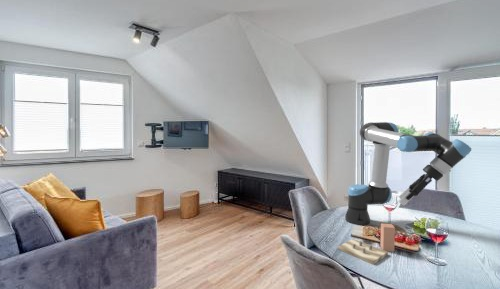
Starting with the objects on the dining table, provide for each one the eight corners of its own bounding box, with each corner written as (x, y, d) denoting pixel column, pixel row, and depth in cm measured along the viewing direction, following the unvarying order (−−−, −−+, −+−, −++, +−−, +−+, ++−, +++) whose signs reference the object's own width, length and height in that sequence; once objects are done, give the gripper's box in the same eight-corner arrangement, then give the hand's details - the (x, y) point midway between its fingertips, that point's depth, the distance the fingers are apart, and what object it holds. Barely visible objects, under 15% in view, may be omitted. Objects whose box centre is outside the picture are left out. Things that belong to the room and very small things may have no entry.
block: (380, 246, 129) (380, 223, 128) (391, 246, 128) (391, 224, 127) (383, 250, 124) (383, 227, 123) (394, 251, 123) (394, 227, 122)
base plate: (352, 241, 134) (353, 235, 134) (387, 254, 120) (388, 247, 120) (337, 249, 126) (337, 242, 126) (373, 264, 112) (373, 256, 111)
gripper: (449, 177, 102) (409, 212, 109) (440, 172, 124) (407, 202, 130) (431, 165, 105) (393, 199, 112) (426, 162, 127) (394, 191, 133)
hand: (400, 201), depth 121 cm, fingers open, 13 cm apart
